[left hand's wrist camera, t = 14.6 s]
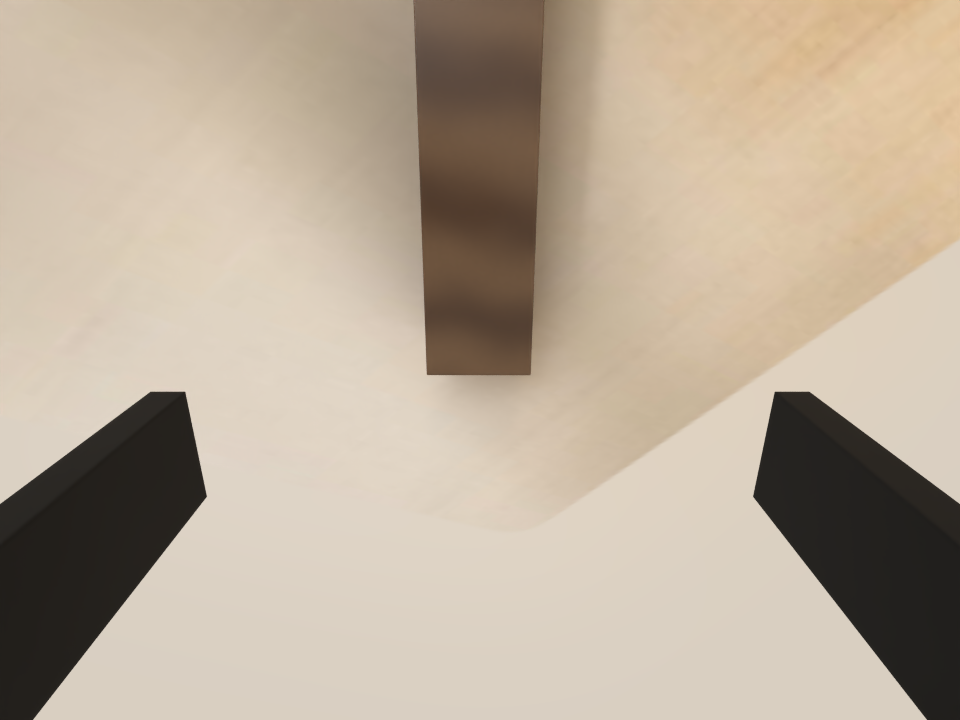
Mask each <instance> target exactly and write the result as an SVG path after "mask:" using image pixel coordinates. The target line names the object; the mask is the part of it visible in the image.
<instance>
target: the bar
mask: <svg viewBox="0 0 960 720" xmlns="http://www.w3.org/2000/svg"><path fill="white" fill-rule="evenodd" d="M543 21H544V0H414V24H415V53H416V81H417V109H418V137H419V165H420V194H421V222H422V250H423V278H424V306H425V335H426V363H427V375H530V374H531V350H532V322H533V295H534V267H535V240H536V213H537V185H538V158H539V131H540V103H541V76H542V48H543Z"/></svg>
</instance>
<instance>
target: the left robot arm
mask: <svg viewBox="0 0 960 720" xmlns="http://www.w3.org/2000/svg"><path fill="white" fill-rule="evenodd" d="M206 497H207V495H206V490H205V485H204V481H203V476H202V471H201V466H200V461H199V456H198V452H197V447H196V442H195V437H194V432H193V427H192V423H191V418H190V413H189V408H188V403H187V398H186V394H185V392H150V393H148V394H147V395H146V396H144V397H143V398H142V399H140V400H139V401H138V402H136V403H135V404H134V405H132V406H131V407H130V408H128V409H127V410H126V411H124V412H123V413H122V414H120V415H119V416H118V417H116V418H115V419H114V420H112V421H111V422H110V423H108V424H107V425H106V426H104V427H103V428H102V429H100V430H99V431H98V432H96V433H95V434H94V435H92V436H91V437H89V438H88V439H87V440H85V441H84V442H83V443H81V444H80V445H79V446H77V447H76V448H75V449H73V450H72V451H71V452H69V453H68V454H67V455H65V456H64V457H63V458H61V459H60V460H59V461H57V462H56V463H55V464H53V465H52V466H51V467H49V468H48V469H47V470H45V471H44V472H43V473H41V474H40V475H39V476H37V477H36V478H35V479H33V480H32V481H31V482H29V483H28V484H27V485H25V486H24V487H23V488H21V489H20V490H19V491H17V492H16V493H14V494H13V495H12V496H10V497H9V498H8V499H6V500H5V501H4V502H2V503H1V504H0V720H33V719H34V718H35V716H36V715H37V714H38V713H39V711H40V710H41V709H42V707H43V706H44V705H45V704H46V702H47V701H48V700H49V698H50V697H51V696H52V695H53V693H54V692H55V691H56V689H57V688H58V687H59V686H60V684H61V683H62V682H63V681H64V679H65V678H66V677H67V675H68V674H69V673H70V672H71V670H72V669H73V668H74V666H75V665H76V664H77V663H78V661H79V660H80V659H81V657H82V656H83V655H84V653H85V652H86V651H87V650H88V648H89V647H90V646H91V645H92V643H93V642H94V641H95V639H96V638H97V637H98V636H99V634H100V633H101V632H102V630H103V629H104V628H105V627H106V625H107V624H108V623H109V622H110V620H111V619H112V618H113V616H114V615H115V614H116V613H117V611H118V610H119V609H120V607H121V606H122V605H123V604H124V602H125V601H126V600H127V598H128V597H129V596H130V595H131V593H132V592H133V591H134V589H135V588H136V587H137V586H138V584H139V583H140V582H141V580H142V579H143V578H144V577H145V575H146V574H147V573H148V571H149V570H150V569H151V568H152V566H153V565H154V564H155V562H156V561H157V560H158V559H159V557H160V556H161V555H162V554H163V552H164V551H165V550H166V548H167V547H168V546H169V545H170V543H171V542H172V541H173V539H174V538H175V537H176V536H177V534H178V533H179V532H180V530H181V529H182V528H183V527H184V525H185V524H186V523H187V521H188V520H189V519H190V518H191V516H192V515H193V514H194V512H195V511H196V510H197V509H198V507H199V506H200V505H201V503H202V502H203V501H204V500H205V498H206ZM753 497H754V498H755V500H756V501H757V502H758V503H759V505H760V506H761V507H762V509H763V510H764V511H765V512H766V514H767V515H768V516H769V517H770V519H771V520H772V521H773V523H774V524H775V525H776V527H777V528H778V529H779V530H780V532H781V533H782V534H783V536H784V537H785V538H786V539H787V541H788V542H789V543H790V545H791V546H792V547H793V548H794V550H795V551H796V552H797V554H798V555H799V556H800V557H801V559H802V560H803V561H804V562H805V564H806V565H807V566H808V568H809V569H810V570H811V571H812V573H813V574H814V575H815V577H816V578H817V579H818V580H819V582H820V583H821V584H822V586H823V587H824V588H825V589H826V591H827V592H828V593H829V595H830V596H831V597H832V598H833V600H834V601H835V602H836V604H837V605H838V606H839V607H840V609H841V610H842V611H843V612H844V614H845V615H846V616H847V618H848V619H849V620H850V621H851V623H852V624H853V625H854V627H855V628H856V629H857V630H858V632H859V633H860V634H861V636H862V637H863V638H864V639H865V641H866V642H867V643H868V645H869V646H870V647H871V648H872V650H873V651H874V652H875V654H876V655H877V656H878V657H879V659H880V660H881V661H882V662H883V664H884V665H885V666H886V668H887V669H888V670H889V672H890V673H891V674H892V675H893V677H894V678H895V679H896V681H897V682H898V683H899V684H900V686H901V687H902V688H903V689H904V691H905V692H906V693H907V695H908V696H909V697H910V698H911V700H912V701H913V702H914V704H915V705H916V706H917V707H918V709H919V710H920V711H921V713H922V714H923V715H924V716H925V718H926V719H927V720H960V504H959V503H958V502H956V501H955V500H954V499H952V498H951V497H950V496H948V495H947V494H946V493H944V492H943V491H942V490H940V489H939V488H937V487H936V486H935V485H933V484H932V483H931V482H929V481H928V480H927V479H925V478H924V477H923V476H921V475H920V474H919V473H917V472H916V471H915V470H913V469H912V468H911V467H909V466H908V465H907V464H905V463H904V462H903V461H901V460H900V459H899V458H897V457H896V456H895V455H893V454H892V453H891V452H889V451H888V450H887V449H885V448H884V447H883V446H881V445H880V444H878V443H877V442H876V441H875V440H873V439H872V438H871V437H869V436H868V435H866V434H865V433H864V432H862V431H861V430H860V429H858V428H857V427H856V426H854V425H853V424H852V423H850V422H849V421H848V420H846V419H845V418H844V417H842V416H841V415H840V414H838V413H837V412H836V411H834V410H833V409H832V408H830V407H829V406H828V405H826V404H825V403H824V402H822V401H821V400H820V399H818V398H817V397H816V396H814V395H813V394H812V393H810V392H775V394H774V399H773V403H772V408H771V413H770V418H769V423H768V428H767V432H766V437H765V442H764V447H763V452H762V456H761V461H760V466H759V471H758V476H757V481H756V485H755V490H754V495H753Z"/></svg>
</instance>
